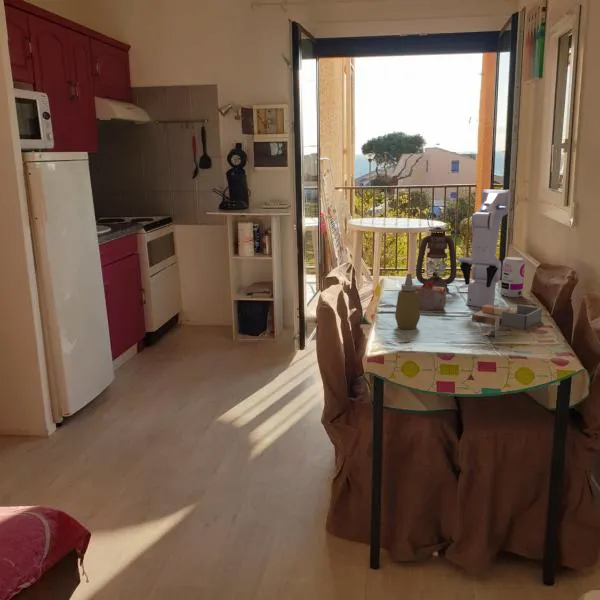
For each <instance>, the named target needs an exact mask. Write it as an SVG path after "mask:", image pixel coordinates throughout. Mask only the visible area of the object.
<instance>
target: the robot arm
mask: <svg viewBox="0 0 600 600" xmlns="http://www.w3.org/2000/svg"><path fill="white" fill-rule="evenodd" d="M511 196H512V193H511V191H510V189H491V188H490V189H487V188H484V189H483V190H482V193H481V197H480V198H481V204H480V206H479V208H478V210H477V211H476V212H475V213H474V212H473V213H472V216H471V234H472V239H471V241H472V243H471V254H470V255H471V256H470V257H458V263H457V264H460V265H459V268H460V270H461V272H462V275H463V277H464V284H465V285H468V286H467V296H466V297H467V298H466V303H465V305H468V306H473V307H479V308H482V306H484V305H487V304H490V305H496V306H499V303H496V302H495V299H496V298H495V297H496V285H497V283H498V282H499V281H500V280H501V277H502V262H501V260H500V259H498V258H497V257H496V253H497V246H498V242H499V241H498V240H499V233H500V228H501V223H502V220H503V217H504V216H506V215H508V213H509V211H510V205H511V199H512V198H511ZM471 279H472V280H471Z"/></svg>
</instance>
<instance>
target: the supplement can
mask: <svg viewBox="0 0 600 600" xmlns="http://www.w3.org/2000/svg"><path fill="white" fill-rule="evenodd" d="M525 267H526V262H525V258H523V257H520V256H506V257H504V259H503V261H502V269H501V282H500V283H501V286H500V287H501V288H500V294H501V295H502V296H503V295H504V297H506V296H508V298H520V297H521V296H522V295H523V292H524V278H525ZM519 296H520V297H519Z"/></svg>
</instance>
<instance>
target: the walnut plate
mask: <svg viewBox="0 0 600 600" xmlns="http://www.w3.org/2000/svg"><path fill="white" fill-rule="evenodd" d="M515 312H517V309H510V313H515ZM495 316H496V317H498V318H499V319H500V320H499V326H502V325H501V320H502V315H498V314H494V313H493V314H492V313H486V312H482V309H481V310H479V311H477V312H475V313H472V314H471V321H474V320H476V322H480V321H482V322H481V323H485V322H487V323H489V324H490V323H492V324H491V325H495ZM487 323H486V324H487Z"/></svg>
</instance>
